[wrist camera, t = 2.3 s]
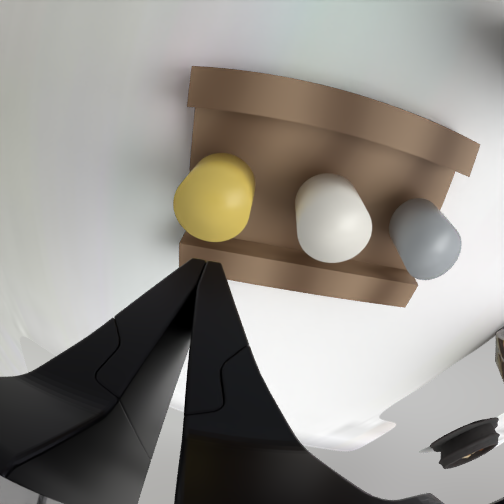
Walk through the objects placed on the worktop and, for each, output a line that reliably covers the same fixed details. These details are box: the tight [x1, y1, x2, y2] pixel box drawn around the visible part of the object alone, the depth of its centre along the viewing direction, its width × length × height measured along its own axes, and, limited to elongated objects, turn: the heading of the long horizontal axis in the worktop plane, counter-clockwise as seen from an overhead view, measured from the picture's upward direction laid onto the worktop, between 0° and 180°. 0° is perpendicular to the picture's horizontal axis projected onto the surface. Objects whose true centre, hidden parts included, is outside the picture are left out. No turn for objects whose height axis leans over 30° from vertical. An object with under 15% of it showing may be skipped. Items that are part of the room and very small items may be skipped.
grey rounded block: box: [389, 198, 461, 280], centre depth 16 cm, size 4×4×3 cm
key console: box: [179, 66, 480, 307], centre depth 19 cm, size 18×14×3 cm
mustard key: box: [173, 153, 256, 242], centre depth 16 cm, size 4×4×3 cm
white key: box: [295, 173, 372, 263], centre depth 16 cm, size 4×4×3 cm
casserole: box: [430, 418, 499, 469], centre depth 44 cm, size 25×19×8 cm
